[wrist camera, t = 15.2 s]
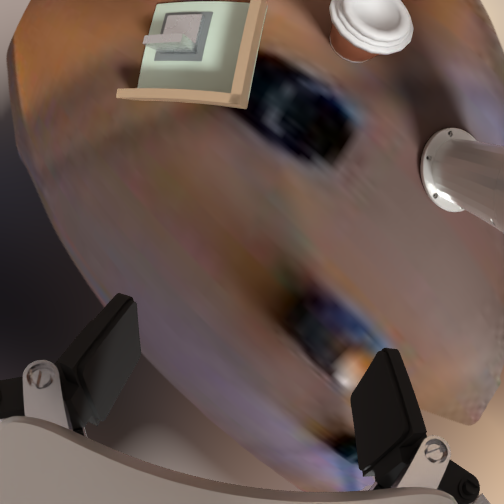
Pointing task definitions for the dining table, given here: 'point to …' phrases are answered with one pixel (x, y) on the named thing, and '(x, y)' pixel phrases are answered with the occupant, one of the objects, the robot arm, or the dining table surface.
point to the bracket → (178, 35)
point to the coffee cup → (369, 28)
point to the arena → (204, 56)
